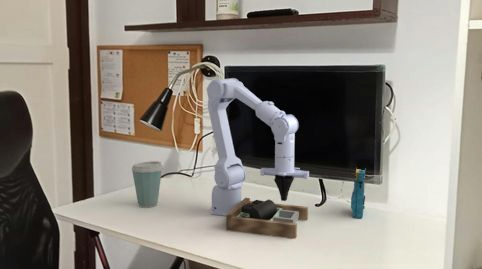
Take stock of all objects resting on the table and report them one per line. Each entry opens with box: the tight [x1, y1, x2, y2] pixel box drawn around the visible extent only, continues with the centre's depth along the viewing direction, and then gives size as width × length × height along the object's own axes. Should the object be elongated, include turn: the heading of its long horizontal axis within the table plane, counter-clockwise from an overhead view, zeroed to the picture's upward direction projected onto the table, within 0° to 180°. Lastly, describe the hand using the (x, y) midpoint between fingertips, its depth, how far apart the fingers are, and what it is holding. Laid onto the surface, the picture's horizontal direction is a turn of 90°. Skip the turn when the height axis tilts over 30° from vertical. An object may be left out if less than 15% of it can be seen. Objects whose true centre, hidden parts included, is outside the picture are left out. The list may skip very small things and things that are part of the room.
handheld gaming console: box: [350, 168, 366, 220], centre depth 165 cm, size 10×4×15 cm, turn 164°
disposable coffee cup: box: [131, 160, 164, 208], centre depth 175 cm, size 11×11×15 cm
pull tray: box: [237, 208, 299, 223], centre depth 156 cm, size 17×14×4 cm
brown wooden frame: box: [225, 197, 309, 239], centre depth 156 cm, size 21×18×5 cm
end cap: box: [242, 199, 277, 220], centre depth 157 cm, size 10×7×7 cm
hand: (284, 199), depth 153 cm, fingers closed
